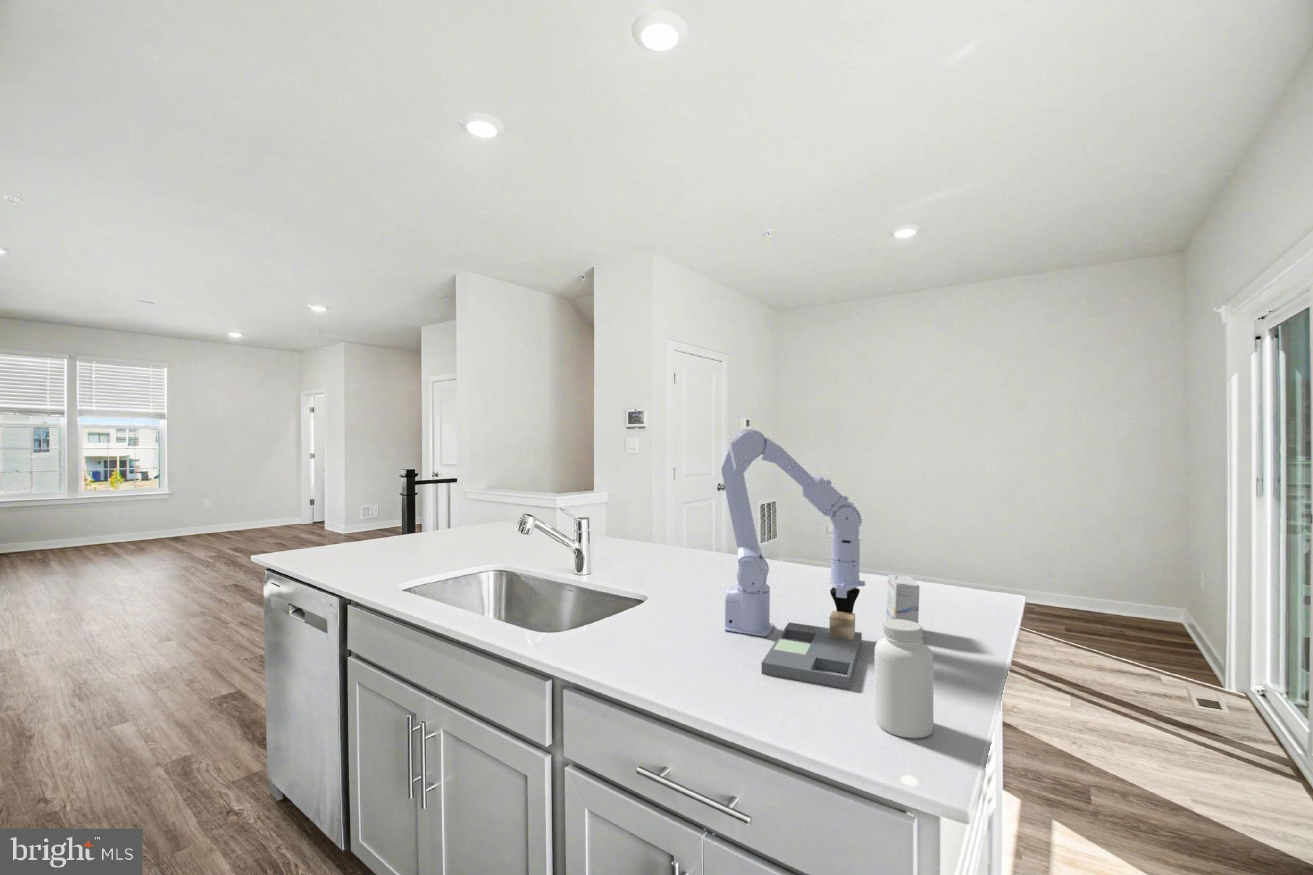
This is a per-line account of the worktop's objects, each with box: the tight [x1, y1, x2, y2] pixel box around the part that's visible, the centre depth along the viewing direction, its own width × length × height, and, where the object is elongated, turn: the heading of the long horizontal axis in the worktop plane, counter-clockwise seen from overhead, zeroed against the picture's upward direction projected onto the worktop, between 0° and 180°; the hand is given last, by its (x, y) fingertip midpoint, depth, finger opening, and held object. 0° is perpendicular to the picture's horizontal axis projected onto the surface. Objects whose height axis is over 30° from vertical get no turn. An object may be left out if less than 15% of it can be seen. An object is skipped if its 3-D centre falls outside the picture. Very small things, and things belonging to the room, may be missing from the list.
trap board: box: [761, 622, 863, 690], centre depth 109 cm, size 15×24×2 cm, turn 155°
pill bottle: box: [874, 619, 934, 739], centre depth 83 cm, size 8×8×15 cm
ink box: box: [885, 573, 920, 624], centre depth 122 cm, size 9×5×12 cm, turn 168°
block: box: [829, 610, 856, 640], centre depth 115 cm, size 4×4×4 cm
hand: (844, 623), depth 119 cm, fingers closed
